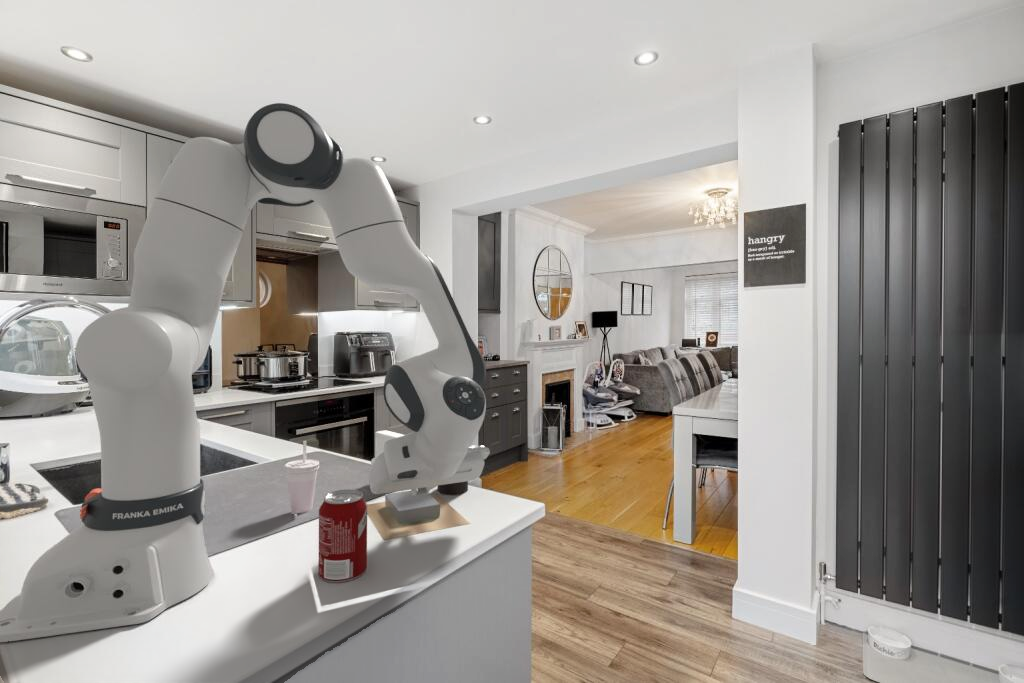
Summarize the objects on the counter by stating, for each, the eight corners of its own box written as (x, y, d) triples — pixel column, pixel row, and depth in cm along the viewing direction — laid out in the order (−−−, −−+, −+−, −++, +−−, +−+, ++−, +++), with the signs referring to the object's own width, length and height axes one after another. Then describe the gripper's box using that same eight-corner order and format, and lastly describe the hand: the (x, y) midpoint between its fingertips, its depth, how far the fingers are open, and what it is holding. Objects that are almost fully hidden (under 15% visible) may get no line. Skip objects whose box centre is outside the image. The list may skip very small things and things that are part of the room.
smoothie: (326, 510, 98) (326, 440, 97) (297, 521, 92) (297, 447, 92) (306, 503, 101) (306, 436, 101) (277, 513, 96) (277, 442, 95)
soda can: (351, 590, 69) (352, 505, 68) (308, 584, 70) (309, 501, 70) (374, 567, 75) (375, 489, 75) (334, 562, 77) (335, 486, 76)
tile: (398, 511, 90) (385, 494, 99) (398, 524, 90) (385, 506, 99) (440, 504, 94) (423, 488, 103) (439, 517, 94) (423, 500, 103)
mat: (383, 543, 84) (383, 539, 84) (362, 508, 99) (362, 505, 99) (470, 526, 91) (470, 523, 91) (437, 496, 107) (437, 493, 107)
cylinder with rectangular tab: (363, 485, 114) (363, 433, 113) (395, 476, 121) (395, 428, 120) (386, 494, 108) (386, 440, 108) (418, 484, 115) (419, 433, 114)
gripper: (487, 431, 90) (465, 469, 99) (375, 441, 80) (362, 483, 89) (498, 461, 86) (474, 498, 95) (381, 476, 76) (367, 516, 85)
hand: (419, 491), depth 92 cm, fingers closed
